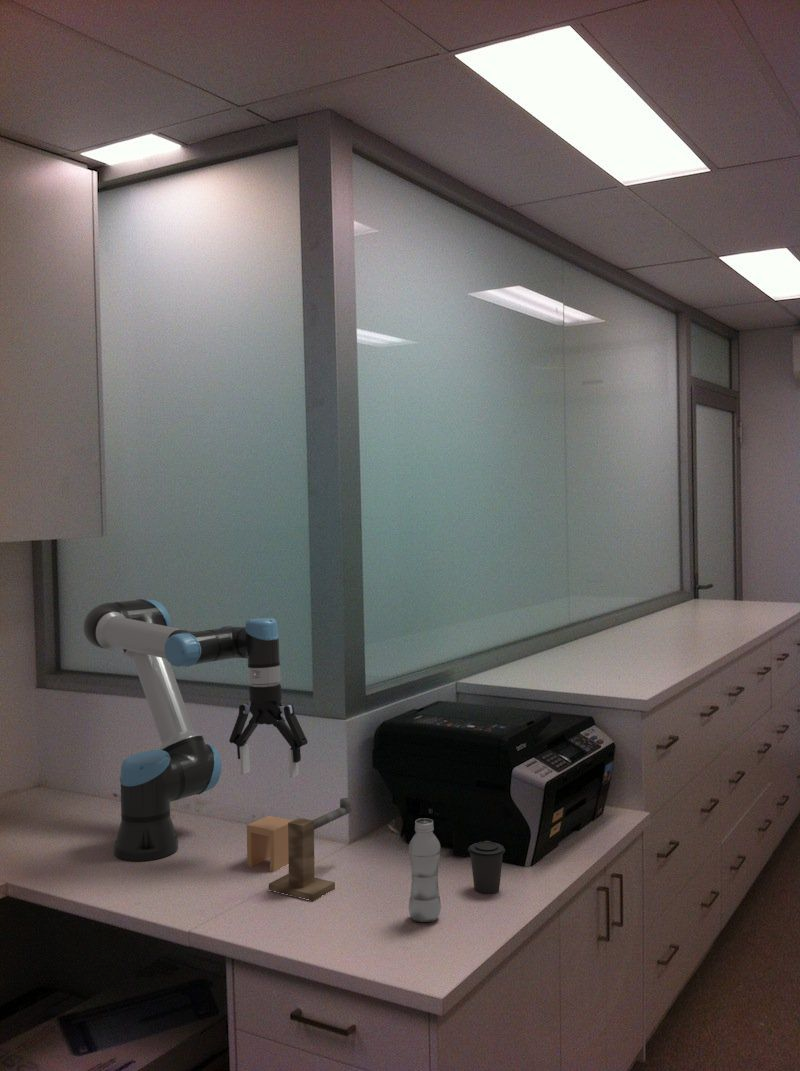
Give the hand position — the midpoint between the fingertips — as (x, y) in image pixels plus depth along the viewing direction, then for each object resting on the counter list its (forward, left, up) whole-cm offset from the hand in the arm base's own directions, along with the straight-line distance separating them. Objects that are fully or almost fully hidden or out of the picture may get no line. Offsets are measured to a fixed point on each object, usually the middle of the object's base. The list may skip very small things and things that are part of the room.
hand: (269, 774), depth 234 cm
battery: (+37, +29, -21) cm, 51 cm away
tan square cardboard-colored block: (+1, -1, -21) cm, 21 cm away
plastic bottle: (+48, -10, -21) cm, 53 cm away
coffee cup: (+52, +10, -21) cm, 57 cm away
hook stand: (+17, -2, -21) cm, 27 cm away
